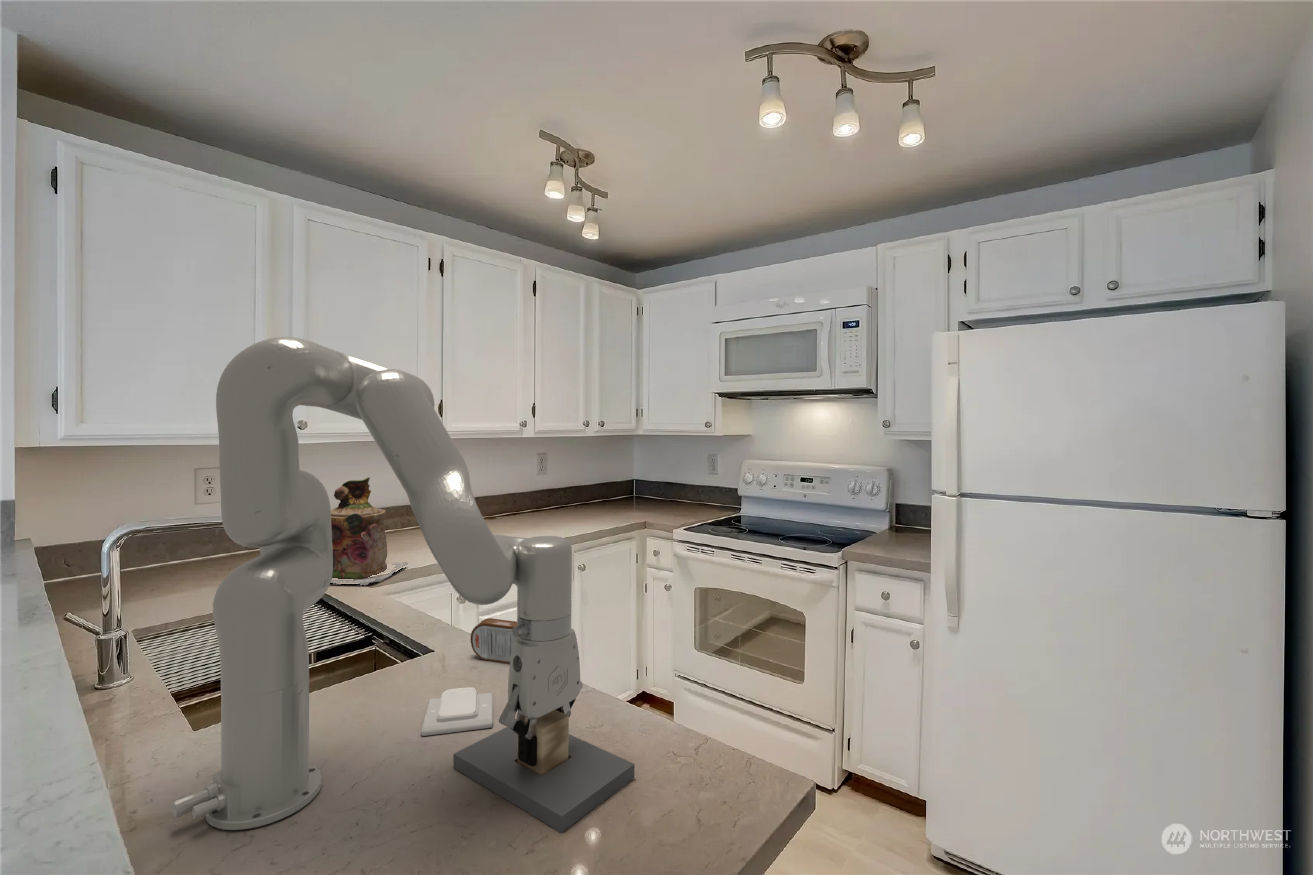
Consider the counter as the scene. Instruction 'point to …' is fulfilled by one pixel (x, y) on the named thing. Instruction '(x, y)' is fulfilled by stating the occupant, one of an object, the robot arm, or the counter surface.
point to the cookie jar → (358, 536)
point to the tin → (493, 640)
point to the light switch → (458, 712)
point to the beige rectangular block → (550, 742)
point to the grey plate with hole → (546, 777)
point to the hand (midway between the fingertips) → (543, 752)
